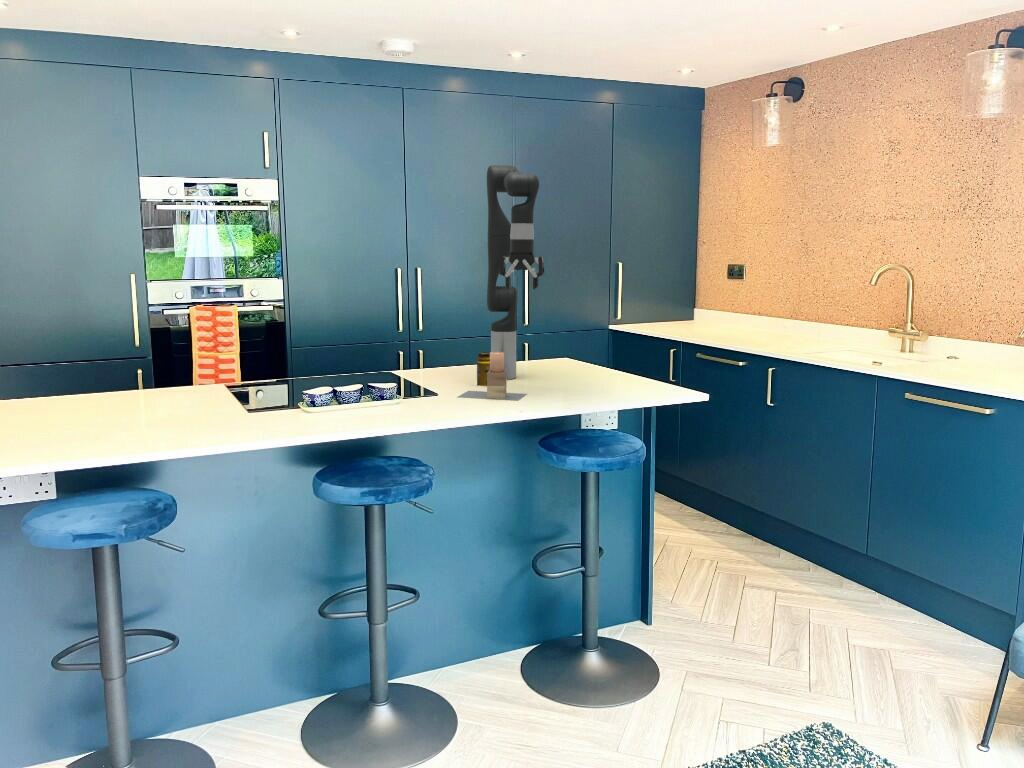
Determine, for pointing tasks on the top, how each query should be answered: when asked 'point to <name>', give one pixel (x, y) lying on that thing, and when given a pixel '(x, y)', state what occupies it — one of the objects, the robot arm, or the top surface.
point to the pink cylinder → (496, 362)
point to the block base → (496, 392)
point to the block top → (496, 378)
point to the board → (484, 396)
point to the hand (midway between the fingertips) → (521, 289)
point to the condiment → (482, 368)
